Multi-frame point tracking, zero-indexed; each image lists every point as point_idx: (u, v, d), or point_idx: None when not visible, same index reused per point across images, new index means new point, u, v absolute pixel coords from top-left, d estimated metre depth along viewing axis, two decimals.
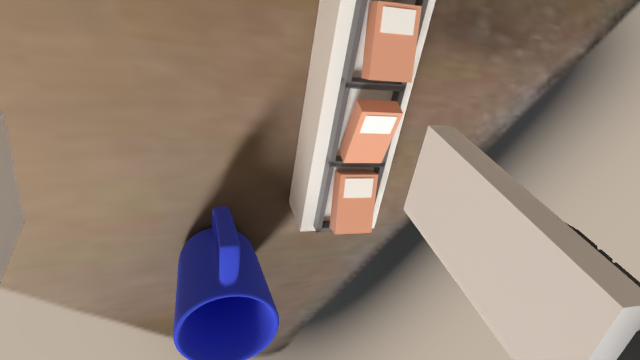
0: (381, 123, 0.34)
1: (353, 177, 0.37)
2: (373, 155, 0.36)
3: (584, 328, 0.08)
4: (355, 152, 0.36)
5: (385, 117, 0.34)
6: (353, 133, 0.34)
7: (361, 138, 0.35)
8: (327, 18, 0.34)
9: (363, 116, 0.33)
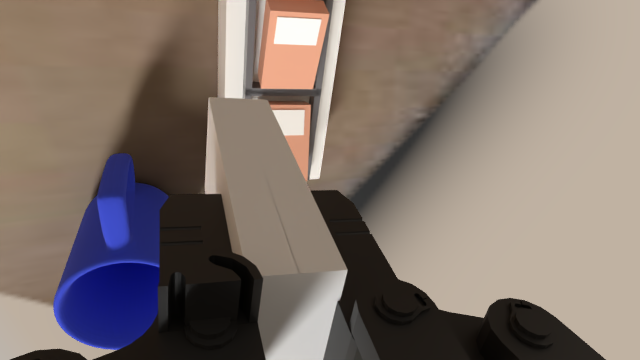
0: (301, 29, 0.25)
1: (277, 108, 0.29)
2: (300, 78, 0.28)
3: None
4: (274, 73, 0.27)
5: (305, 20, 0.25)
6: (266, 44, 0.26)
7: (278, 52, 0.26)
8: None
9: (274, 19, 0.25)
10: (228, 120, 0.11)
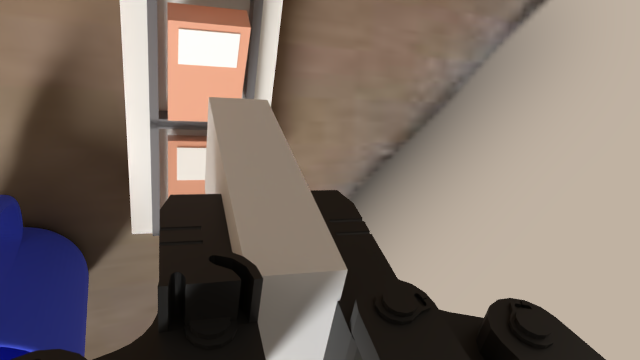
0: (213, 46, 0.19)
1: (191, 146, 0.22)
2: None
3: None
4: (183, 101, 0.21)
5: (218, 34, 0.19)
6: (167, 64, 0.20)
7: (185, 75, 0.20)
8: None
9: (174, 31, 0.18)
10: (228, 121, 0.11)
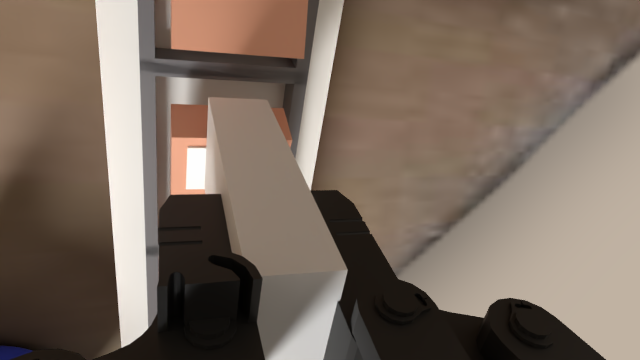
0: None
1: None
2: None
3: None
4: None
5: None
6: (171, 189, 0.14)
7: None
8: None
9: (181, 151, 0.12)
10: (228, 120, 0.11)
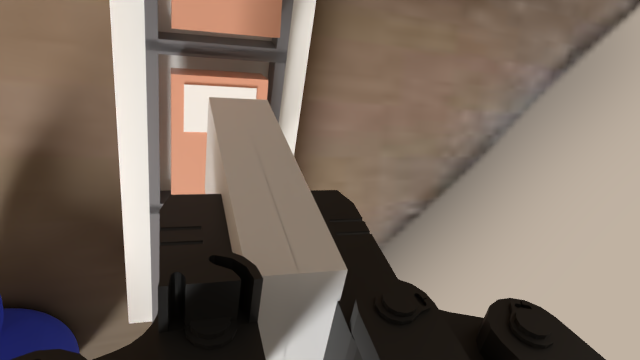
0: None
1: None
2: None
3: None
4: (190, 185, 0.17)
5: (230, 90, 0.16)
6: (171, 134, 0.16)
7: (193, 147, 0.16)
8: None
9: (179, 89, 0.16)
10: (228, 121, 0.11)
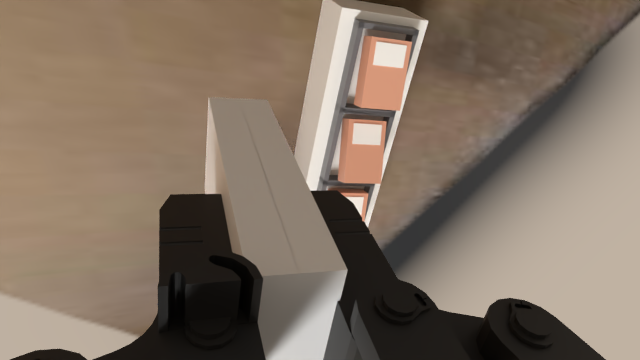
0: (369, 132, 0.37)
1: (345, 195, 0.40)
2: (371, 173, 0.38)
3: None
4: (353, 169, 0.37)
5: (371, 126, 0.37)
6: (347, 145, 0.37)
7: (355, 151, 0.37)
8: (324, 48, 0.36)
9: (352, 125, 0.36)
10: (228, 120, 0.11)
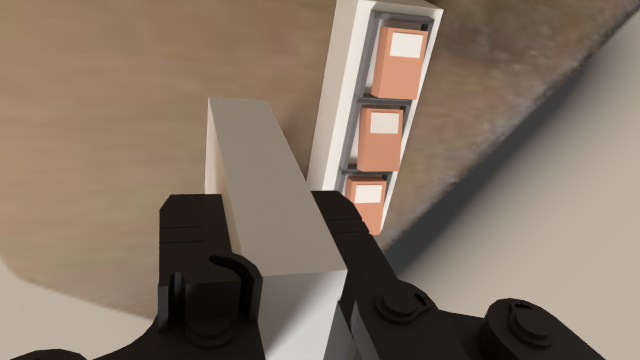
0: (387, 121, 0.38)
1: (363, 184, 0.40)
2: (390, 161, 0.38)
3: None
4: (371, 157, 0.38)
5: (388, 114, 0.38)
6: (365, 134, 0.37)
7: (373, 140, 0.38)
8: (340, 39, 0.37)
9: (369, 114, 0.37)
10: (228, 121, 0.11)
